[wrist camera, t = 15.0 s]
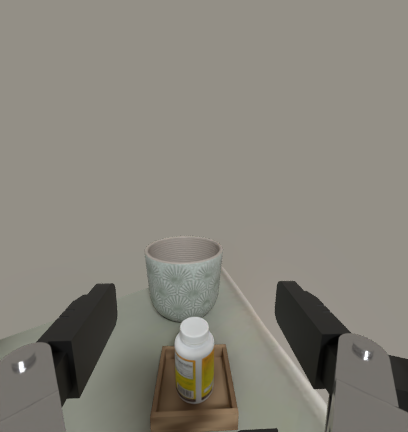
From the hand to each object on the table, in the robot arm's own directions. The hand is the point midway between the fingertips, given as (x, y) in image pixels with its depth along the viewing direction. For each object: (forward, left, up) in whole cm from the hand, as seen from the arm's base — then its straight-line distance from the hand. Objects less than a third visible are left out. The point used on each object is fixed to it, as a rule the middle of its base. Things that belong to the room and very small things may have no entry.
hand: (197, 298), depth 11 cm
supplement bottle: (-11, +11, -25) cm, 30 cm away
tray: (-12, +12, -26) cm, 30 cm away
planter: (-27, +24, -26) cm, 44 cm away
